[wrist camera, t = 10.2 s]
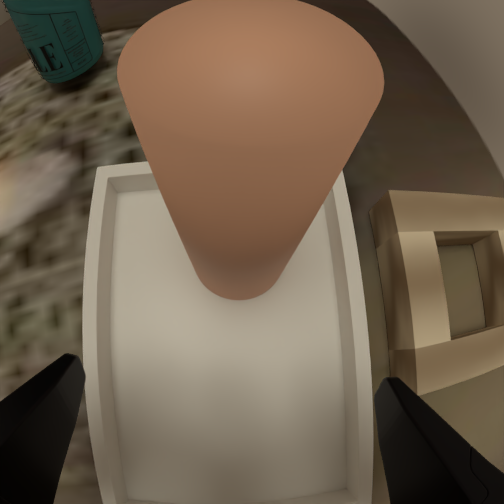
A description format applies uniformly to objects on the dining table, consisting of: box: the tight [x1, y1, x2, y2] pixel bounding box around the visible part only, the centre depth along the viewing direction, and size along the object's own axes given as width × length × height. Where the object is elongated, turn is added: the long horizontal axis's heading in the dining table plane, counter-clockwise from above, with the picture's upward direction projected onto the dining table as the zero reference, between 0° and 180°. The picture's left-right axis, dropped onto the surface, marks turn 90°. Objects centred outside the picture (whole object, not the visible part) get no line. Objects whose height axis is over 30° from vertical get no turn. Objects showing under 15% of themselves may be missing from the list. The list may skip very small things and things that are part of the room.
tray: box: [83, 162, 373, 504], centre depth 15 cm, size 20×14×2 cm
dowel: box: [117, 0, 384, 300], centre depth 11 cm, size 5×5×13 cm
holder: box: [369, 190, 504, 396], centre depth 17 cm, size 11×11×3 cm
